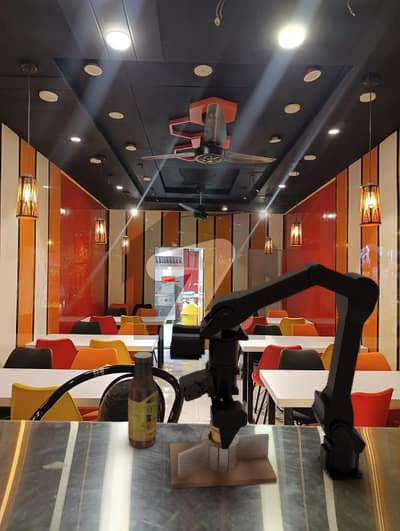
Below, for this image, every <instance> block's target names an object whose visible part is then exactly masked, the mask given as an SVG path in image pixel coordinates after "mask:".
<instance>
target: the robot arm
mask: <svg viewBox="0 0 400 531" xmlns="http://www.w3.org/2000/svg"><path fill="white" fill-rule="evenodd" d="M316 286H318V287H321V288H324V289H326V290H329V291H331V292H333V293H334V296H335V300H334V301H335V302H334V303H335V306H336V311H337V312H336V313H337V323H336V328H335V335H334V339H333V340H334V341H333V345H332V346H333V347H332V351H331V359H330V365H329V371H328V374H327V382H326V385H325V387H324V388H323V389H322V390H321V391H320V390H318V389H317V390H316V389H315V390H314V395H313V396H314V400H313V402H312V404H311V409H312V411H313V413H314V417H315V418H316V420H317V423H318V424H319V426H320V427H321V430H322V431H323V433H324V435H323V439H322V440H323V441H322V443H320V448H319V450H320V451H319V455H318V456H317V459H318V461H319V463H320V464H321V466H322V467H323V469H324V470H325V472H326V473H327V474H328V476H329V478H330V479H331V480H349V479H362V478H363V477H364V476H363V473H362V471H361V470H360V469H359V466H360V465H359V464H360V455H361V454H363V452H364V450H365V448H366V446H367V443H366V441H365V440H364V439H363V437H362V436H361V435H360V433H359V431H358V430H357V429H356V427H355V411H354V406H353V400H352V390H353V384H354V379H355V373H356V369H357V364H358V357H359V354H360V346H361V342H362V337H363V332H364V326H365V323H366V322H367V321H368V320H369V318H370V317H371V315H372V314H373V313H374V311H375V309H376V306H377V303H378V300H379V298H380V294H381V292H380V291H381V290H380V286H379V285H378V283H376V281H375V280H374V279H372V278H370V277H369V276H368V277H367V276H365V275H363V274H360V273H358V272H353V271H352V272H351V271H350V272H349V271H348V272H345V273H342V272H339V271H337V270H334V269H332V268H329V267H326V266H325V265H323V264H321V263H318V262H316V261H309V262H307V263H305V264H303V265H302V266H300V267H298V268H295V269H293V270H291V271H289V272H287V273H286V272H285V273H284V274H281V275H280V276H277V277H275V278H273V279H270V280H267V281H266V282H263V283H261V284H258V285H256V286H253V287H251V288H248V289H241V290H233V291H231V292H225V293H222V294H221V293H220V294H218V295H217V296H215V297H213V298H212V300H211V303H210V304H209V311H208V312H207V314H205V316H204V317H203V318H202V319H201V321H200V322H199V323H200V324H199V325H197V324H196V325H195V324H194V325H193V324H180V323H173V324H172V327H171V340H170V344H169V359H170V360H172V361H174V360H176V361H200V360H201V359H202V357H203V356H205V355H206V340H208V359H207V360H206V362H205V364H204V365H205V366H204V367H205V368H202V369H200V370H195V371H192V372H189V373H186V374H185V375H182V376H180V377H179V378H178V383H179V384H178V386H179V390H180V392H181V395H182V398H183V399H184V402H191V401H194V400H196V399H199V398H202V396H204V395H207V398H210V401H211V405H210V406H209V407H210V408H209V415H210V416H209V417H210V420H211V422H212V426H214V427H216V428H219V435H220V441H221V447H222V449H228V448H229V446H230V444H231V442H232V441H233V439H234V437H235V436H236V434H237V433H239V431H240V429H241V428H242V427H246V426H247V425H248V416H249V415H248V412H247V409H246V408H245V405H244V404H243V403H242V402H241V401H240V400H234V396H239V395H240V389H239V387H238V376H240V373H241V369H240V367H239V366H238V365H239V364H238V361H239V342H241V341H242V342H243V341H245V342H246V341H249V340H250V338H249V334H248V332H247V331H246V330H245V329H243V326H242V325H241V324H243V323H245V322H246V321H248V320H249V319H250V318H251V317H252V316H254V314H256V313H257V312H259V311H261V310H262V309H265V308H266V307H268V306H272V305H273V304H275V303H278V302H280V301H283V300H285V299H288V298H291V297H292V296H294V295H296V294H299V293H302V292H304V291H307V290H309V289H311V288H314V287H316Z"/></svg>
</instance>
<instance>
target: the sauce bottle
mask: <svg viewBox="0 0 400 531" xmlns="http://www.w3.org/2000/svg"><path fill="white" fill-rule="evenodd" d="M153 360H154V359H153V354H152V353H151V352H148V351H139V352H136V353H134V354H133V363H134V370H133V371H134V372H133V374H134V375H133V377H132V378H131V379H130V382H129V384H128V385H129V386H128V397H127V398H128V399H127V402H128V405H127V406H128V407H127V415H128V416H127V420H128V421H127V422H128V423H127V424H128V425H127V430H128V431H127V434H128V442H129V444H130V445H131V446H132V447H134V448H138V449H139V448H140V449H143V448H147V447H150V446H151V445H154V443H155V442H156V438H157V424H158V421H157V420H158V416H157V415H158V414H157V413H158V387H157V385H156V381H155V379H154V378H155V377H154V376H153V371H152V370H153V369H152V368H153V367H152V364H153V363H152V362H153Z"/></svg>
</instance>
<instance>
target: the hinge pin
mask: <svg viewBox="0 0 400 531" xmlns="http://www.w3.org/2000/svg"><path fill="white" fill-rule="evenodd" d="M209 428H211V429H212V442H213V443H216V444H219V445H220V444H221V441H220V435H219V428H216V427H214V426H212V422H211V419H210V420H209Z"/></svg>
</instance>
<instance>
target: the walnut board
mask: <svg viewBox="0 0 400 531" xmlns="http://www.w3.org/2000/svg"><path fill="white" fill-rule="evenodd" d="M199 444H202V441H195V442H194V441H193V442H170V443H169V458H170V460H169V461H170V462H169V464H170V465H169V466H170V488H171V490H173V489H191V488H205V487H206V488H207V487H223V486H224V487H225V486H226V487H227V486H243V485H258V484H259V485H262V484H277V483H278V477H277V475H276V472H275V470H274V467H273V466H272V463H271V461H270V459H269V457H268V458H264V459H244V460H239V463H238V465H237V466H236V467H235V469H233V470H231V471H229V472H228V471H227V472H215V471H212V470H209V469H207V468H204V469H202V470H200V471H198V472H196V473H194V474H192V475H190V476H188V477H186V478H184V479H182V480H179V479H178V453H181V452H183V451H185V450H188V449H190V448H192V447H195V446H197V445H199Z"/></svg>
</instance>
